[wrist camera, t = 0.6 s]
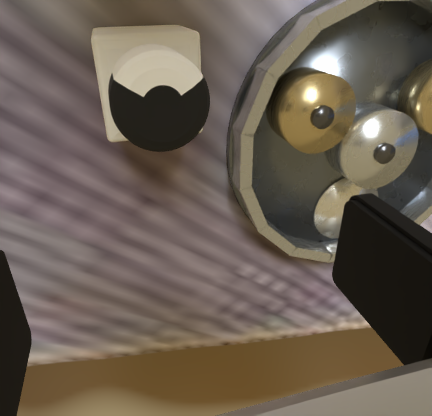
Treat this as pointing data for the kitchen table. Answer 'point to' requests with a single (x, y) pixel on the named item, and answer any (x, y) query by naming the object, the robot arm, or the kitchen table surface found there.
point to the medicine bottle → (151, 84)
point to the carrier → (335, 121)
